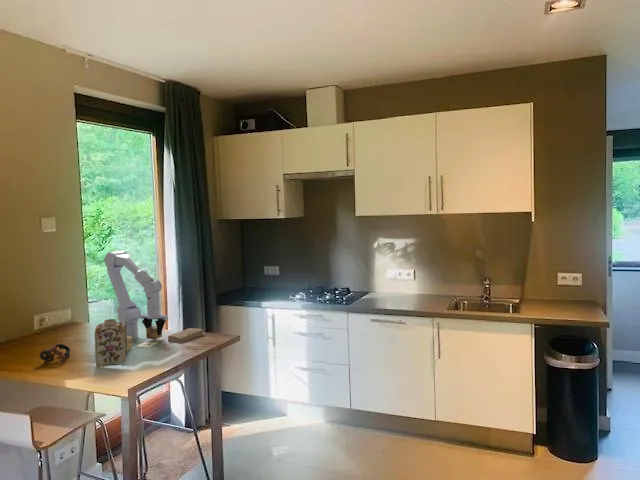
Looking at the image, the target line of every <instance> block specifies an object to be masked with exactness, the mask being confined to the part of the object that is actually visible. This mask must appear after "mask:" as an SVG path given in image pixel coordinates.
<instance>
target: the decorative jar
mask: <svg viewBox="0 0 640 480" xmlns="http://www.w3.org/2000/svg"><path fill="white" fill-rule="evenodd" d="M126 328H127V327H126V324H125V323H122V322H120V321H117V319H116V318H108V319H105V320H104V322H103V323H101V322H100V323H98V324H97V325H95V329H94V351H95V354H94V355H95V356H94V357H95V358H94V359H95V365H96V367H97V368H98V367H110V366H120V365H121V364H117V362H118V363H119V362H126V361H127V360H126V358H127V356H128V351H127V329H126Z"/></svg>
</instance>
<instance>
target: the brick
mask: <svg viewBox="0 0 640 480" xmlns="http://www.w3.org/2000/svg"><path fill="white" fill-rule="evenodd" d="M202 336H204V330H203V328H194V327H190V328H186V329H184V330H182V331H178V332H175V333H173V334H169V335H168V336H167V341H168V342H172V343H175V344H176V343H177V344H182V343H184V342H187V341H190V340H193V339H196V338H198V337H202Z"/></svg>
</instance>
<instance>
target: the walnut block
mask: <svg viewBox="0 0 640 480" xmlns="http://www.w3.org/2000/svg"><path fill="white" fill-rule="evenodd" d="M145 336H146V340H149V339H158V338H161V337H163V333H162V334H161V335H158V333H157V325H152V326H150V327H148V328H145Z"/></svg>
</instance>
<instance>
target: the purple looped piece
mask: <svg viewBox="0 0 640 480" xmlns="http://www.w3.org/2000/svg"><path fill="white" fill-rule="evenodd" d="M57 348H58V349H59V350H58V349H57ZM61 350H65V352H63V351H61ZM63 353H64V354H63ZM44 355H45V356H44ZM55 355H56V356H58V357H59V358H60V359H61V360H60V361H59V362H60V363H62V364H63V363H65V362H66V361H67V359H69V358H70V357H71V348H70V347H69V346H67V345H66V344H62V343H55V344H53V346H51V347H49V348H48V349H47V350H46V349H45V350H42V351H41V352H40V353H39V359H41V360H42V361H44V364H45V363H49V360H53V359H54V358H55Z"/></svg>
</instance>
